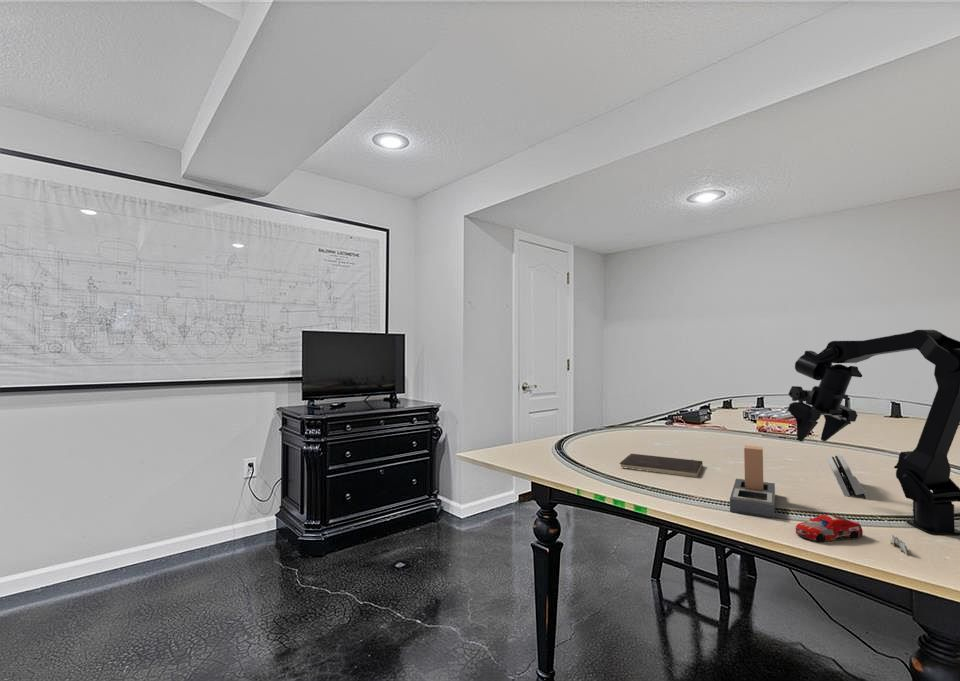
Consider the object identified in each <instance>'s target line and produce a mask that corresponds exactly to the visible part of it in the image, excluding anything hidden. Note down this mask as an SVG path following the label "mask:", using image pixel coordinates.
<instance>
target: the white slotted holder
mask: <svg viewBox="0 0 960 681" xmlns="http://www.w3.org/2000/svg"><path fill="white" fill-rule="evenodd" d="M826 460H827V462H828V465H829V467H830V470H831V472H832V473H833V476H834V477H835V480H836V482H837V485H838V486H839V488H840V490H841V492H842V495H843V496H844V497H850V496H851V495H852V494H853V495H856V496H858V495H862V494H863V496H864V497H865V498H866V499H868V500H869V499H870V498H869V496H868V493H867V492H866V490H865V488H864V487H863V486H862V484H861V483H860V481H859V480H858V478H857V477H856V476H854V475H853V472H852V470H851V469H850V467H849V464H848V463H847V461H846V459H845V457H844V456H843V454H836V455H834V456H827V457H826Z"/></svg>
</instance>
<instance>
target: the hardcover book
mask: <svg viewBox="0 0 960 681" xmlns="http://www.w3.org/2000/svg"><path fill="white" fill-rule="evenodd" d="M619 465H620V468H621V467H627V468H634V469H641V470H648V471H655V472H654V473H656V472H662V473H661V474H665V473H670V474H669V475H673V474H678V475H677V476H681V475H685V476H684V477H689V476H692V477H691V478H697V477H698V475H699V473H700V471H701V468H702V467H703V460H698V459H697V460H695V459H687V458H685V459H684V458H676V457H666V456H659V455H658V456H657V455H650V454H649V455H647V454H640V453H630V454H629V455H627V456H626V457H625V458H624V459H622V460H621V462H619ZM701 466H702V467H701ZM648 471H647V472H648Z"/></svg>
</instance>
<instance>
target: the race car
mask: <svg viewBox="0 0 960 681" xmlns="http://www.w3.org/2000/svg"><path fill="white" fill-rule="evenodd" d="M795 534H796V535H798V536H799V537H802V538H804V539H806V540H811V541H814V542H817V543H824V542H828V541H840V540H841V541H842V540H857V539H858V538H861V537H863V534H864V533H863V528H862V526H861V524H860V523H859V522H857V521H854V520H852V519H849V518H846V517H841V516H838V515H834V514H831V515H830V514H825V515H824V514H823V515H819V516H815V517H813V518H811V517H809V520H807V521H804V522H799V523H797V524H796V526H795Z"/></svg>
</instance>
